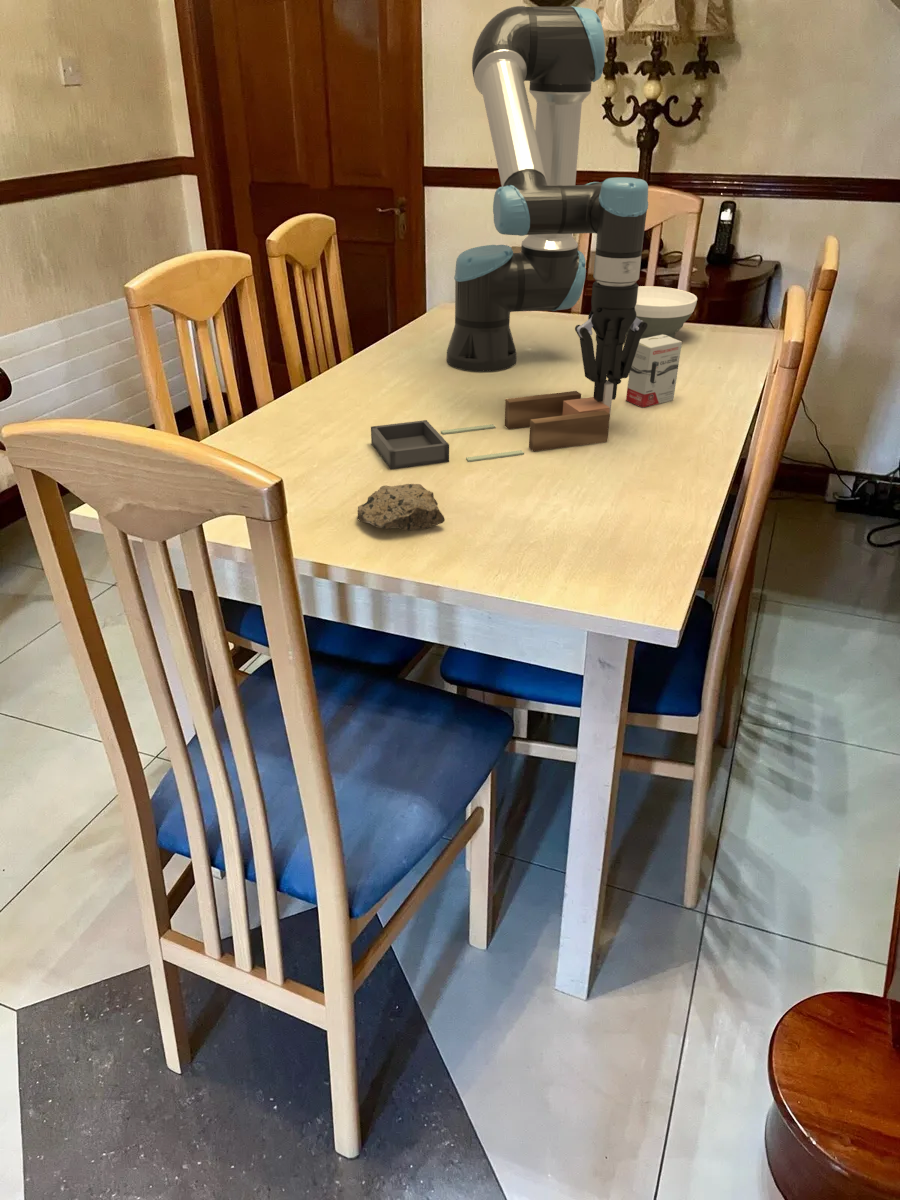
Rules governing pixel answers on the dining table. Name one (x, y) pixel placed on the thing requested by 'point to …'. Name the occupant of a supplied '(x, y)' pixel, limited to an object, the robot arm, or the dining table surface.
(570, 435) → the channel
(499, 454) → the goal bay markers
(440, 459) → the tray
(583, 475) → the dining table surface
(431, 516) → the rock
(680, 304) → the bowl
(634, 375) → the ink box
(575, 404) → the rust block
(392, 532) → the dining table surface
